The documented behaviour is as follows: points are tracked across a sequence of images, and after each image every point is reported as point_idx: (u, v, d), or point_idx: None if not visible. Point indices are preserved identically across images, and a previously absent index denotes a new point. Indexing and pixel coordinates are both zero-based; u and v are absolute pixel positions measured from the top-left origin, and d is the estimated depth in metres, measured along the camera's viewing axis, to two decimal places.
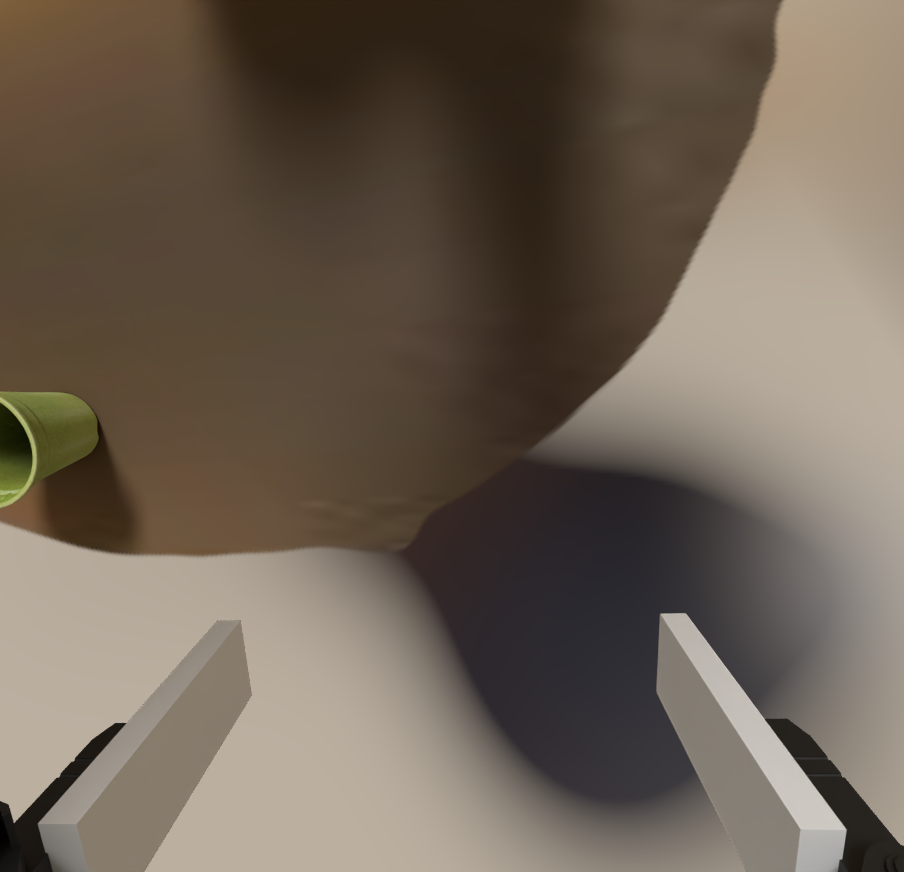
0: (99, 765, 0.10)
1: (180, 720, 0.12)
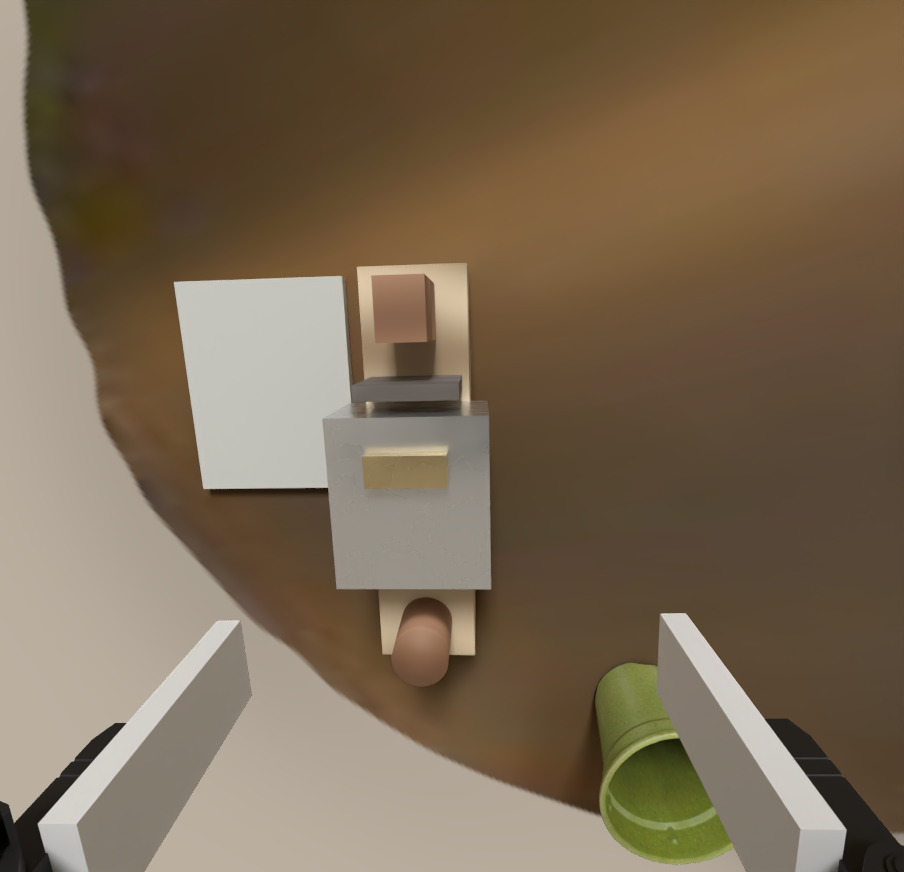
0: (99, 765, 0.10)
1: (180, 720, 0.12)
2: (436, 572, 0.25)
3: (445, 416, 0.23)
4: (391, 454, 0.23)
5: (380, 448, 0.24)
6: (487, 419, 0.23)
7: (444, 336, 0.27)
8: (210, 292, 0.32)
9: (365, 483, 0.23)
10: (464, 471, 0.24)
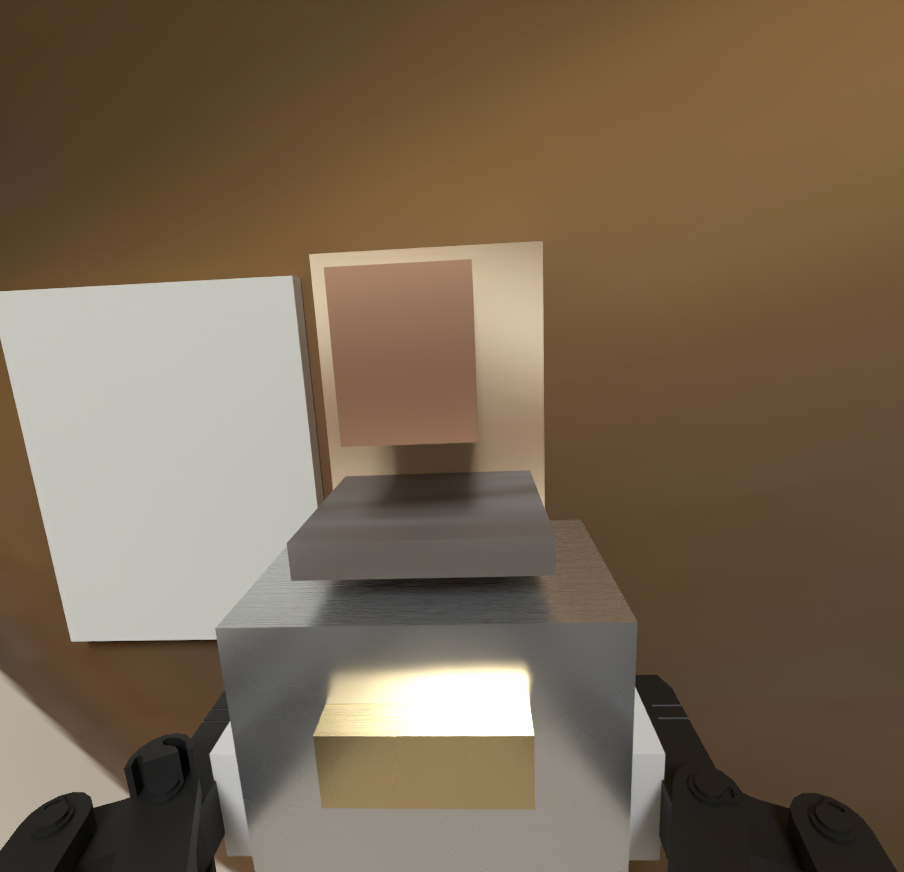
0: None
1: None
2: None
3: (524, 621, 0.09)
4: (389, 720, 0.09)
5: (361, 694, 0.10)
6: (633, 630, 0.09)
7: (494, 395, 0.13)
8: (56, 310, 0.18)
9: (324, 795, 0.09)
10: (570, 746, 0.10)
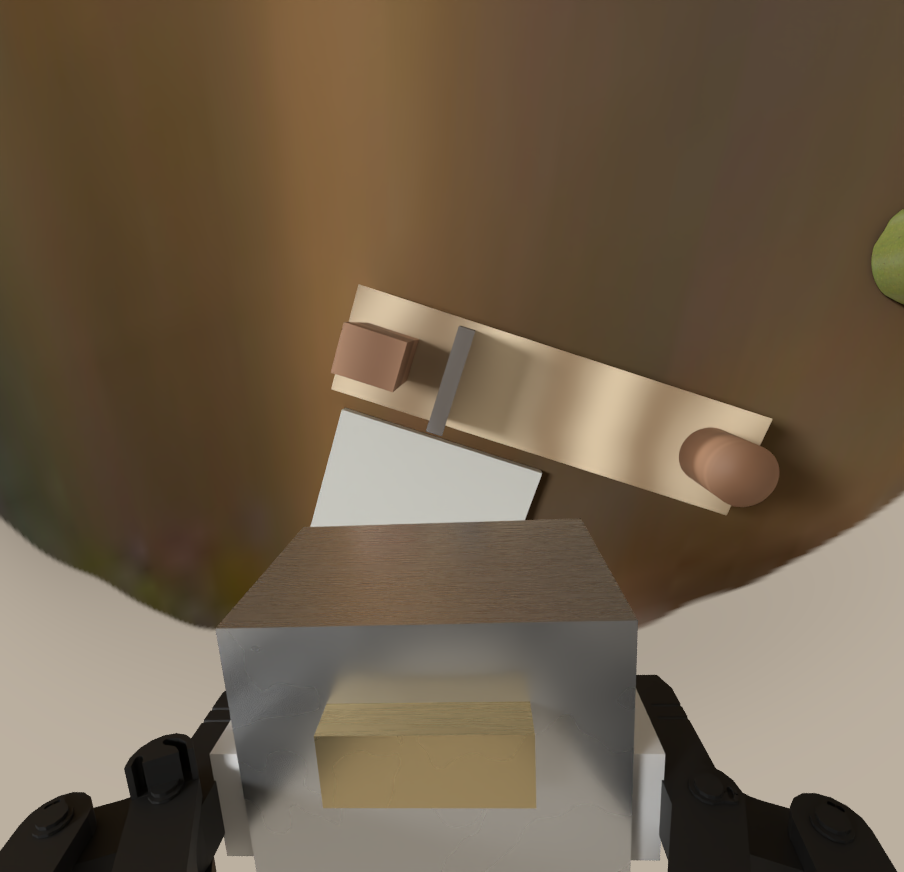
0: None
1: None
2: None
3: (524, 620, 0.09)
4: (390, 720, 0.09)
5: (362, 694, 0.10)
6: (633, 628, 0.09)
7: (419, 330, 0.27)
8: None
9: (326, 795, 0.09)
10: (571, 745, 0.10)
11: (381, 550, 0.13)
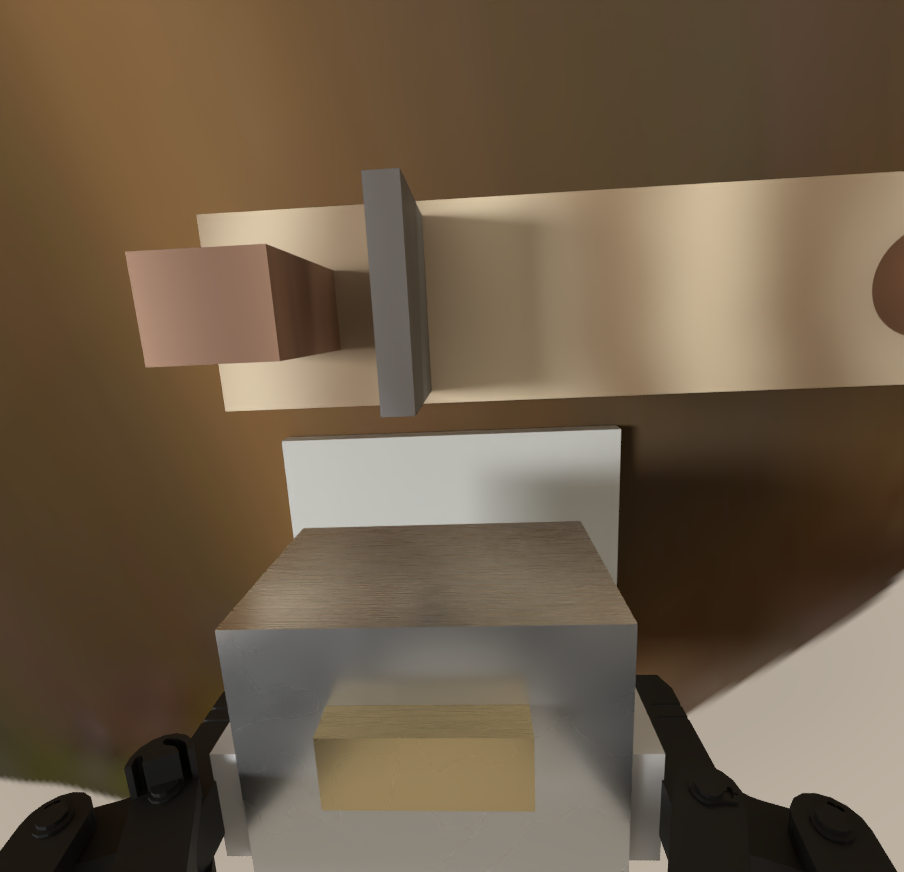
0: None
1: None
2: None
3: (524, 623, 0.09)
4: (389, 722, 0.09)
5: (361, 696, 0.10)
6: (633, 632, 0.09)
7: (327, 254, 0.15)
8: None
9: (324, 797, 0.09)
10: (570, 748, 0.10)
11: (381, 552, 0.13)
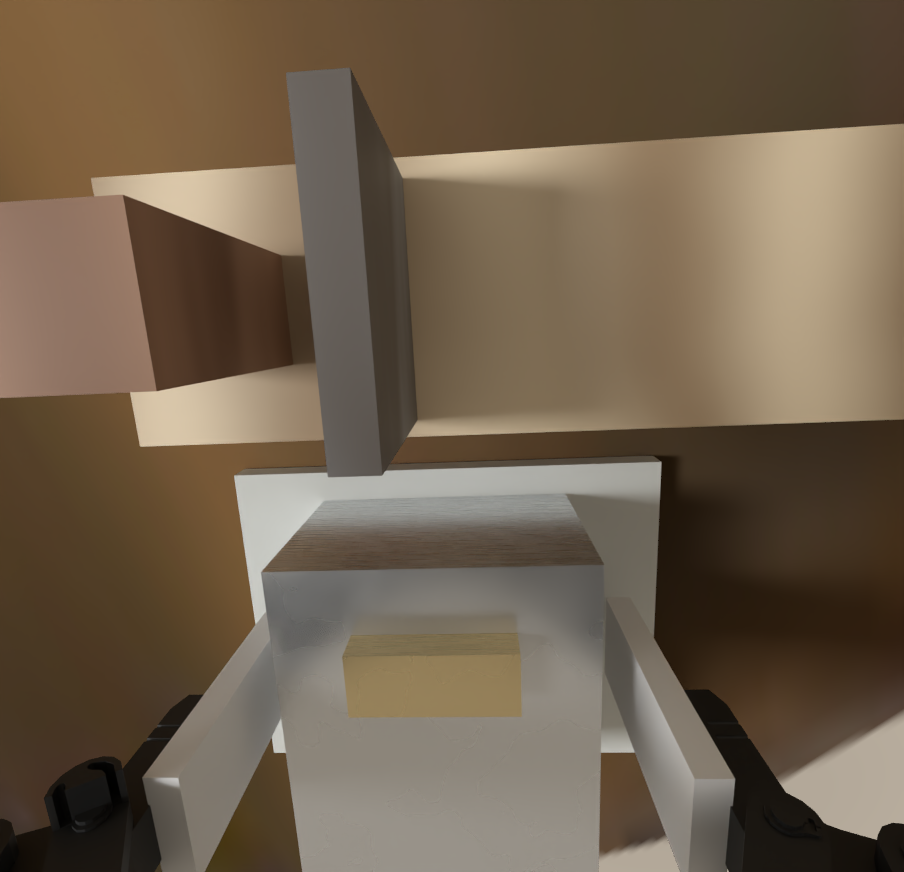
0: (188, 728, 0.11)
1: (250, 692, 0.13)
2: (492, 847, 0.13)
3: (513, 565, 0.11)
4: (403, 646, 0.11)
5: (380, 627, 0.12)
6: (601, 571, 0.11)
7: (272, 232, 0.11)
8: None
9: (351, 707, 0.11)
10: (551, 670, 0.12)
11: (393, 517, 0.15)
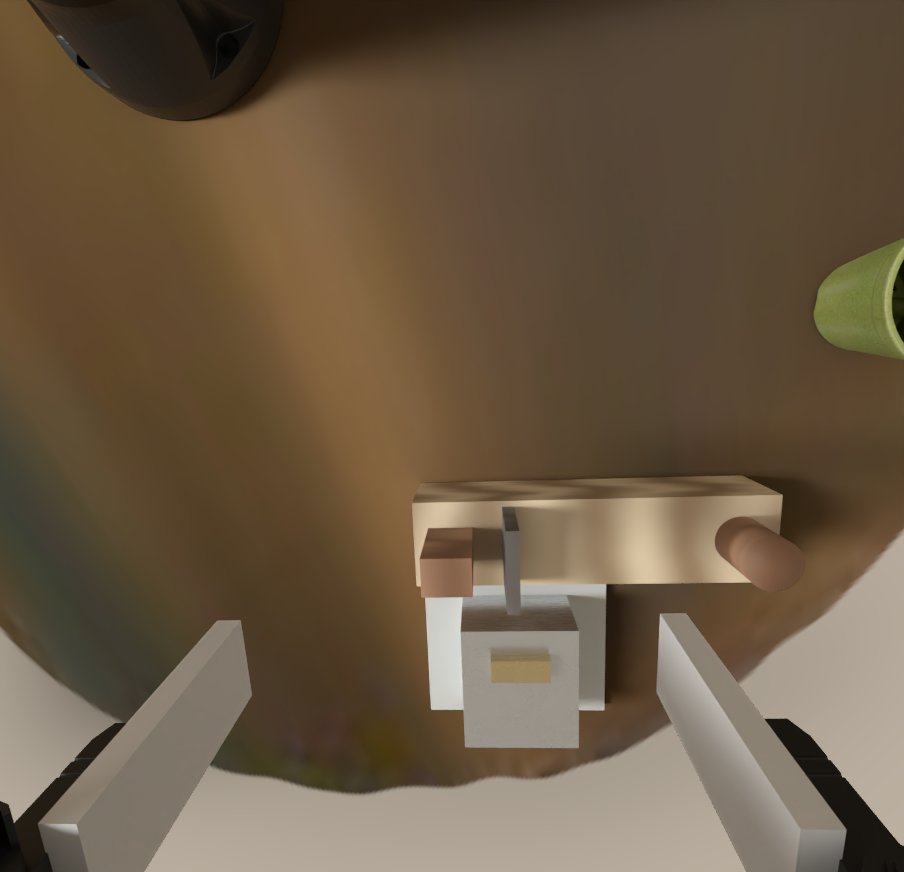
0: (99, 765, 0.10)
1: (181, 719, 0.12)
2: (538, 736, 0.35)
3: (548, 630, 0.33)
4: (510, 658, 0.33)
5: (501, 651, 0.34)
6: (578, 633, 0.33)
7: (470, 520, 0.33)
8: (438, 684, 0.40)
9: (492, 679, 0.33)
10: (560, 667, 0.34)
11: (497, 606, 0.37)
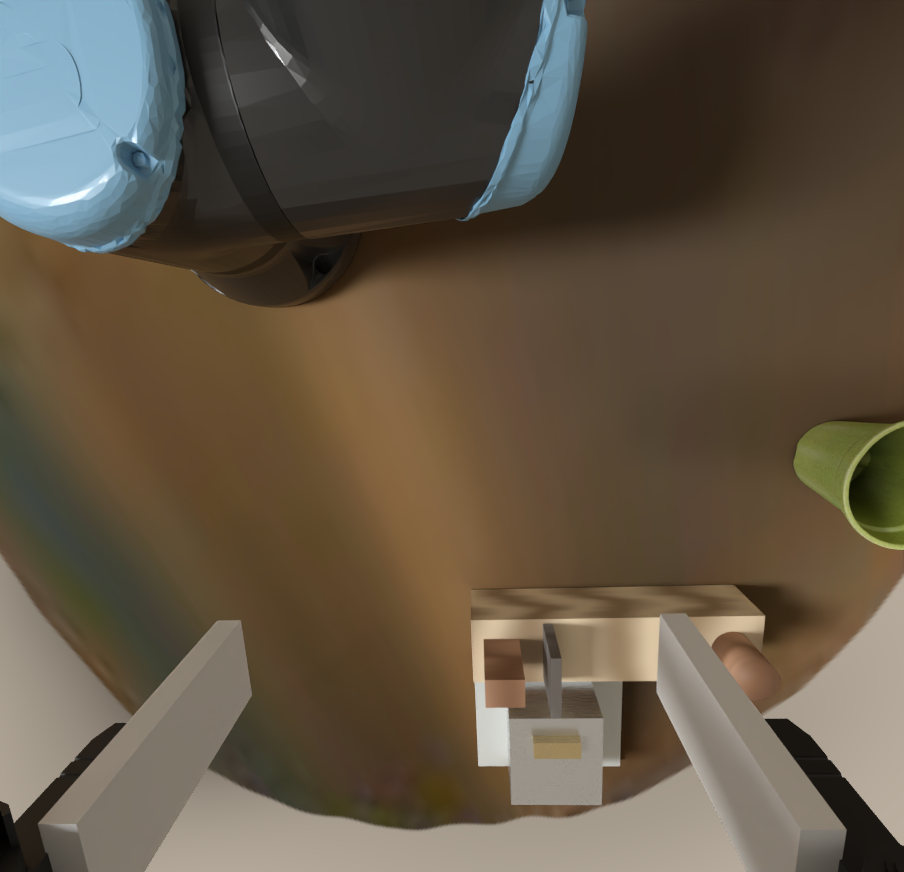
0: (99, 765, 0.10)
1: (181, 719, 0.12)
2: (570, 796, 0.44)
3: (578, 717, 0.42)
4: (549, 739, 0.42)
5: (541, 733, 0.43)
6: (602, 720, 0.42)
7: (517, 633, 0.42)
8: (485, 746, 0.49)
9: (535, 756, 0.42)
10: (588, 745, 0.43)
11: (535, 691, 0.45)
